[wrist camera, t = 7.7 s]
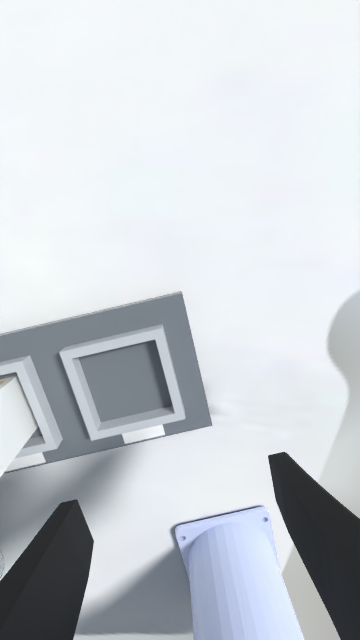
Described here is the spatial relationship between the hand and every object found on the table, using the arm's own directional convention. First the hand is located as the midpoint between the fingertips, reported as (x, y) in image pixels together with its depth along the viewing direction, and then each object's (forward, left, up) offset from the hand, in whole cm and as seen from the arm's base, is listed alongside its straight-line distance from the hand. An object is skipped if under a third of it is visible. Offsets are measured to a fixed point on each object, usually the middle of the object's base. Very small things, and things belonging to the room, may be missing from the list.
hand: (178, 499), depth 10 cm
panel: (+1, +8, -10) cm, 12 cm away
